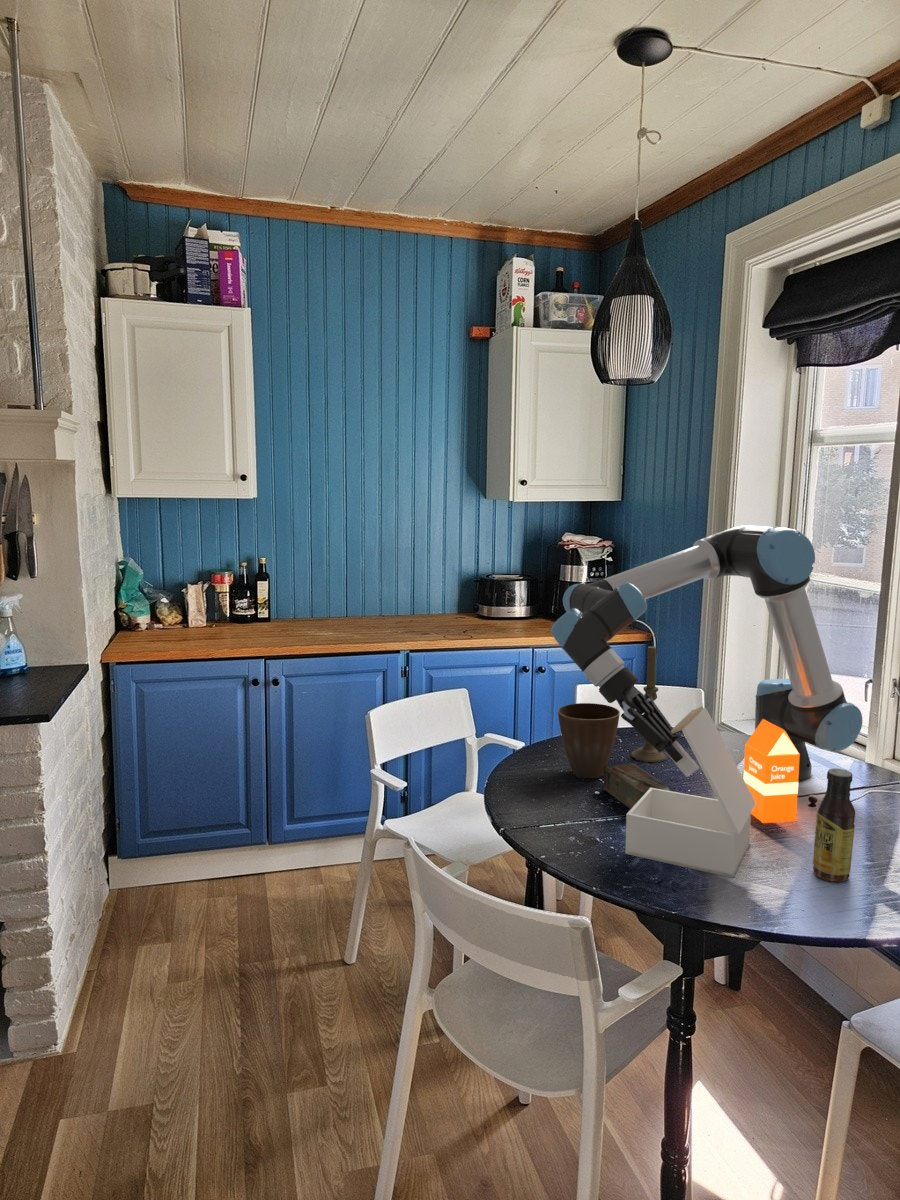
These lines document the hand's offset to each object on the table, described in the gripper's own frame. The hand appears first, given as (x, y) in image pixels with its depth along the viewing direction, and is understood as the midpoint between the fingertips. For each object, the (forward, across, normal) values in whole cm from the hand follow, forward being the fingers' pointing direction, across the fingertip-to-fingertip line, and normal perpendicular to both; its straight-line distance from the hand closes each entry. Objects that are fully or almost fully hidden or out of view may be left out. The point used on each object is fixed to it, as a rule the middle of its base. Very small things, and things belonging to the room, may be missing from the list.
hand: (693, 772), depth 156 cm
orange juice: (+19, -27, -4) cm, 33 cm away
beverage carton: (0, -19, -23) cm, 30 cm away
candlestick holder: (-5, -51, -28) cm, 58 cm away
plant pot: (-12, -31, -35) cm, 48 cm away
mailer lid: (+2, -1, +2) cm, 3 cm away
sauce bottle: (+29, -2, +6) cm, 30 cm away
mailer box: (+11, -1, -12) cm, 16 cm away
